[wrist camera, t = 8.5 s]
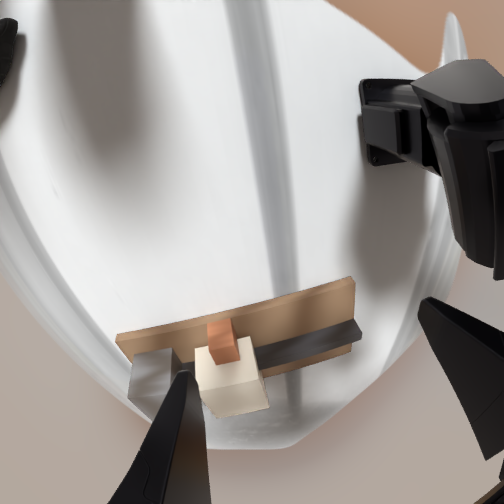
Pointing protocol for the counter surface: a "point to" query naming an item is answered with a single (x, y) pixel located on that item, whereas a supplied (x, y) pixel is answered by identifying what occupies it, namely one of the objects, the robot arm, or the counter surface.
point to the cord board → (239, 326)
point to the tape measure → (6, 44)
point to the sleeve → (231, 382)
